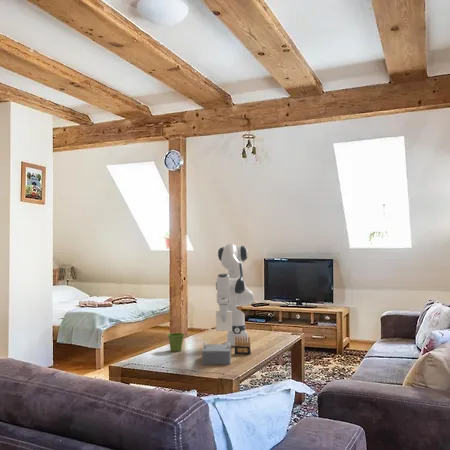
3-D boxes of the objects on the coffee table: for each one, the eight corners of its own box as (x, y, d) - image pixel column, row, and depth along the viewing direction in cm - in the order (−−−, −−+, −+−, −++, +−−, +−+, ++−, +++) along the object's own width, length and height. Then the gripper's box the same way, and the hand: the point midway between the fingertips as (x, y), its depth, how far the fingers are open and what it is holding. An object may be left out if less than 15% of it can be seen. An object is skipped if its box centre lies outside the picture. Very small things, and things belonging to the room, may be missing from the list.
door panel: (216, 330, 323) (216, 311, 323) (232, 330, 322) (231, 311, 323) (216, 331, 320) (215, 311, 320) (232, 330, 319) (231, 311, 320)
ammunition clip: (234, 353, 338) (234, 335, 339) (235, 353, 340) (235, 335, 340) (250, 354, 335) (249, 336, 335) (250, 354, 337) (250, 335, 337)
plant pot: (182, 352, 344) (181, 336, 344) (165, 352, 346) (165, 335, 346) (186, 349, 355) (186, 332, 355) (170, 348, 357) (170, 332, 358)
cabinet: (205, 356, 331) (204, 339, 331) (231, 356, 330) (230, 339, 330) (202, 364, 310) (202, 346, 310) (230, 364, 309) (229, 346, 310)
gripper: (219, 297, 332) (219, 319, 332) (218, 301, 312) (218, 324, 311) (228, 297, 332) (229, 319, 331) (228, 301, 311) (228, 324, 311)
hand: (224, 321), depth 321 cm, fingers closed on door panel, 3 cm apart
